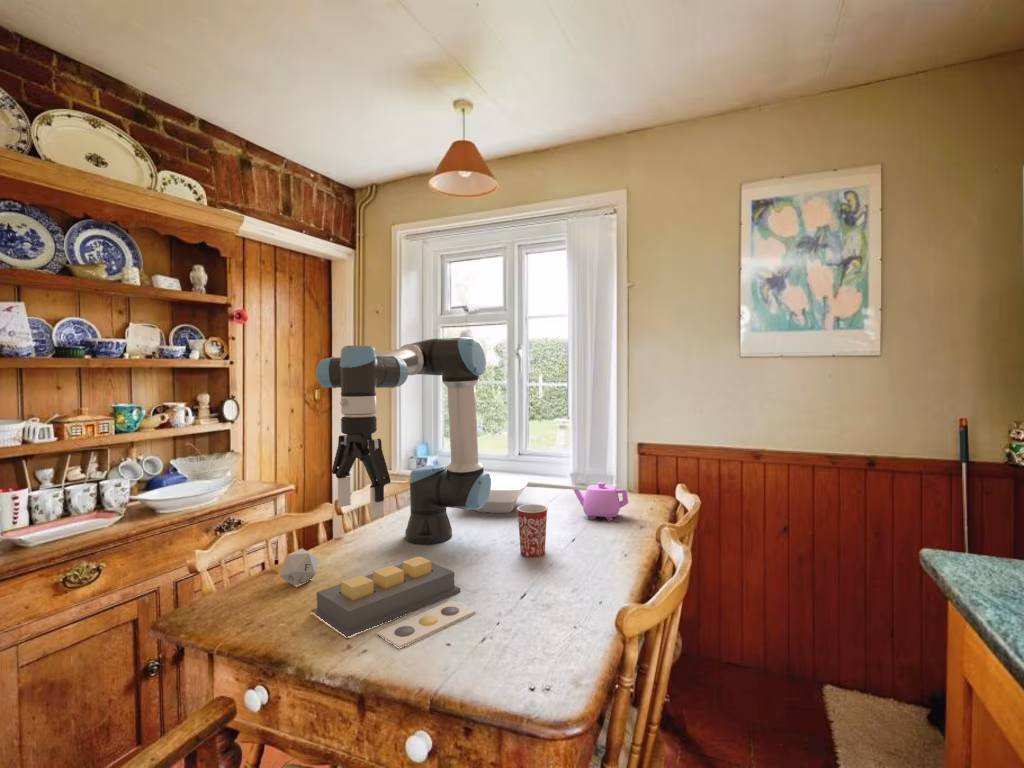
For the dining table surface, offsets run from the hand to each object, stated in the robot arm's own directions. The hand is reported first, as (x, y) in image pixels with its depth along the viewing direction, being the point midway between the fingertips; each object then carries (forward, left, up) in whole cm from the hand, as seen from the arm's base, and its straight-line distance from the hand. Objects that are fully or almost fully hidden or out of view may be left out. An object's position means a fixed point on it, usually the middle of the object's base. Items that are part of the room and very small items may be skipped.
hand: (360, 511), depth 113 cm
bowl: (-41, +83, -23) cm, 96 cm away
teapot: (-3, +100, -23) cm, 103 cm away
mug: (+3, +56, -23) cm, 61 cm away
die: (-27, -2, -23) cm, 36 cm away
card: (+15, +7, -23) cm, 28 cm away
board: (0, +7, -23) cm, 24 cm away
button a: (0, -1, -20) cm, 20 cm away
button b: (0, +7, -19) cm, 21 cm away
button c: (0, +15, -19) cm, 25 cm away
